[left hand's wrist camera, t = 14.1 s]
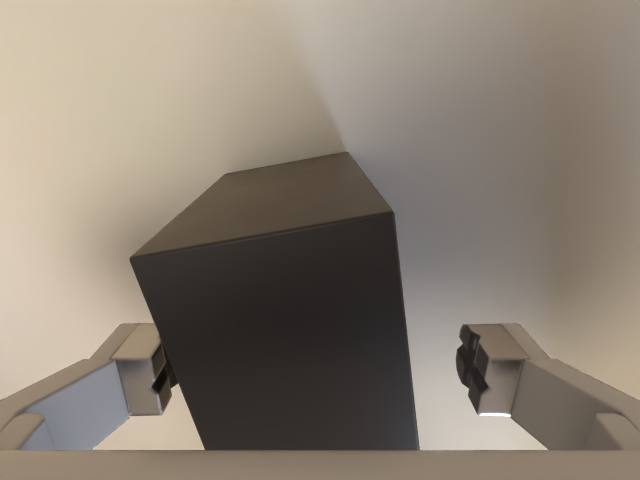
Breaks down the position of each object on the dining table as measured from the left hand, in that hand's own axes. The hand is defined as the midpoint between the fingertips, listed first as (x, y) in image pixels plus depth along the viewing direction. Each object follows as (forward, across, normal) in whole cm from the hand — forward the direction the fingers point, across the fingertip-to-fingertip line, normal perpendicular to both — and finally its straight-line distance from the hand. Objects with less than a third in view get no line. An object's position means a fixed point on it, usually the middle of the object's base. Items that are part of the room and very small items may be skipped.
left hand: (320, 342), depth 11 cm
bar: (+8, +1, -9) cm, 12 cm away
